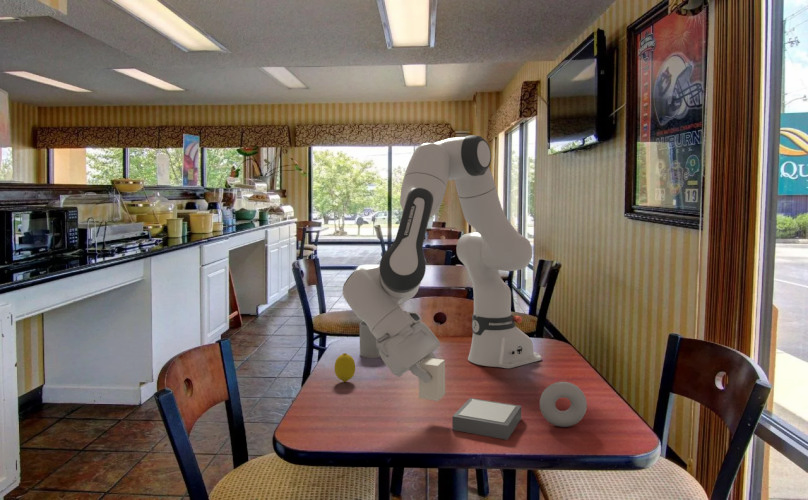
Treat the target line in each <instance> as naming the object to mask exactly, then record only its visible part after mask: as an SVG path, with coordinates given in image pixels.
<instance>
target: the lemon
mask: <svg viewBox="0 0 808 500" xmlns="http://www.w3.org/2000/svg"><path fill="white" fill-rule="evenodd" d="M334 363H335V364H334V373H335V376H336V377H337V378H338V379H339V380H341V381H343V383H346V382H348V381H349V380H351V379H352V378H354V377H353V376H354V375H355V372H356V362H355V360H354V357H352V356H351V355H350V354H347V353H345V352H343V354H341V355H338V357H337V358H336V360H335V362H334Z"/></svg>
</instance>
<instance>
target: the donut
mask: <svg viewBox="0 0 808 500" xmlns="http://www.w3.org/2000/svg"><path fill="white" fill-rule="evenodd" d="M561 398H564V399H568V400H569V402H570V406H569V408H568V409H566V410H560V409H558V408H557V406H556V403H557V401H559V399H561ZM587 408H588V403H587V398H586V396H585V394H584V391H582V389H580V388H579V386H577V385H576V384H574V383H571V382H567V381H556V382H554V383H551V384H549V385H548V386H547V387H546V388H544V390H543V392H542V393H541V395H540V398H539V409H540V413H541V414H542V416H543V418H544V419H545V420H546V421H547V422H548V423H549V424H551V425H554V426H555V427H560V428H567V427H572V426H574V425H576V424H578V423H579V422H580V421H582V419H583V418H584V416H585V414H587V413H586V411H587Z"/></svg>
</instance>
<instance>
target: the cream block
mask: <svg viewBox="0 0 808 500" xmlns="http://www.w3.org/2000/svg"><path fill="white" fill-rule="evenodd" d="M419 364H420V365H421V368H422V369H423V370H425V371H426V372H427V371H428V372H429V373H430V374H431V375H432V379H431V380H430V381H429V382H427V383H424V382H423V380H422V379H421V378H419V377H418V399H421V400H429V401H435V402H438V401H440V400H441V399H442V398H443V397H444V396H446V360H445V359H440V358H436V359H434V358H425V359H423V360H422V361H421V362H419Z"/></svg>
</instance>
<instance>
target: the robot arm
mask: <svg viewBox="0 0 808 500" xmlns="http://www.w3.org/2000/svg"><path fill="white" fill-rule="evenodd" d="M491 151H492V149H491V148H490V145H489V143H488V142H487V140H485V139H484V137H482V136H481V135H474V134H473V135H472V134H471V135H467V136H458V137H456V136H455V137H450V138H449V137H448V138H446V139H442V140H439V141H436V142H425V143H422V144H420V145H418V146H417V147H416V148H415V150H414V152H413V153H412V156H411V157H410V160H409V162H408V164H407V166H406V170H405V173H404V177H403V179H402V184H401V189H400V197H399V199H400V201H399V205H400V206H401V208H402V213H401V217H400V218H401V219H400V222H399V224H398V229H397V233H396V236H395V238H394V241H393V242H392V243H391V245H390V246H389V247H388V248H387V249H386V251H385V252H384V253H383V255H382V257H381V259H380V261H379V266H375V267H374V266H373V267H369V268H366V267H365V268H363V267H359V268H357V269H356V270H354V271H353V272H352V273H351V274H350V275H349V276H348V277H347V279H346V280H345V282H344V284H343V286H342V296H343V299H344V300H345V302H346V304H347V305H348V306H349V307H350V309H351V310H352V311H353V313H354V314H355V315H356V316H357V318H359V320H361V322H363V321H364V322H365V323H366V324H367V326H368V327H369V330H370V331H371V333H372V334H373V335H374V336H375V337H376V339H377V340H376V345H377V346H376V347H377V348H378V350H379V354H380V356H381V357H380V358H381V359H382V361H383V363H384V364H385V365H386V366H387V368H388V369H389V370H390V372H391V374H393V376H396V377H398V378H400V377H401V376H403V375H404V374H405V373H406V372H408V371H410V372H411V374H412V375H414V376H416V377H417V378H418V379H419V378H421V379H422V380H423V382H424V383H427V382H429V381H430V380H431V379H432V375H431V374H430V373H429V372H428V371H427V372H426V371H425V370H423V369H422V368H421V365H420V364H419V363H420V362H421V361H422V360H424V359H425V358H434V359H437V357H436V355H435V354H434V353H435V351H437V349H438V348H440V346H441V344H440V341H439V339H438V337H437V336H436V335H435V334H434V333H433V331H432V330H431V328H429V326H427V324H426V323H424V322H422V316H421V315H420V314H419V313H418V312H411V311H407V310H403V309H402V307H401V306H400V305H403V304H404V303H405V302H408V301H409V300H411V299H413V297H415V296H416V294H417V293H418V291H419V289H420V286H421V284H422V281H423V279H424V278H425V277H424V276H425V274H426V267H427V266H426V260H425V256H424V249H423V247H424V241H425V237H426V233H427V229H428V224H429V222H430V219H431V217H433V216H435V215H436V214H438V212H439V209H440V208H441V205H442V204H443V200H444V198H445V194H446V190H447V188H448V187H447V185H448V181H449V182H450V181H454V183H455V188H456V193H457V197H458V199H459V203H460V204H459V205H460V207H461V210H462V216H463V218H464V220H465V221H466V223H467V224H468V225H469V226H471V227H472V228H473V229H475V231H472V232H469V233H465V234H463V235H461V236H460V237H459V239H458V240H457V243H456V247H455V248H456V256H457V258H458V260H459V261H460V262H461V263H462V265H463V266H464V267H465V268H466V271H467V273H468V275H469V278H470V280H471V286H472V290H473V291H472V292H473V313H472V317H471V318H472V319H471V328H472V339H471V345H470V349H469V354H468V357H467V360H468V361H469V362H470V363H472V364H475V365H478V366H484V367H491V368H492V367H494V368H504V369H513V368H516V367H520V366H524V365H528V364H531V363H535V362H538V361H540V362H541V361H542V356H541V355H540V354H539V353H538V352H535V350H534V343H533V341H532V338H531V337H529V336H528V335H527V334H526V333H525V332H523V331H522V330H521V329H520V328H518V327H517V325H516V323H517V324H520V323H522V321H523V318H522V316H519V315H515V316H514V315H513V314H512V312H511V311H512V310H511V308H512V291H511V288H510V287H509V285H508V284H507V283H506V282H504V280H503V278H502V276H501V275H500V271H503V272H514V271H519V270H520V271H521V270H524V269H526V268H527V267H528V266H529V264H530V263H531V260H532V257H533V247H532V245H531V243H530V241H529V239H528V238H526V237H525V236H523V235H522V234H521V233H520V232H518V231H517V229H515V227H514V226H513V225H512V223H511V222H510V221H509V219H508V217H507V216H506V214H505V212H504V210H503V207H502V204H501V200H500V198H499V194H498V190H497V187H496V183H495V180H494V176H493V174H492V171H491V169H490V165H491V162H492V152H491ZM378 343H379V344H378Z"/></svg>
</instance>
